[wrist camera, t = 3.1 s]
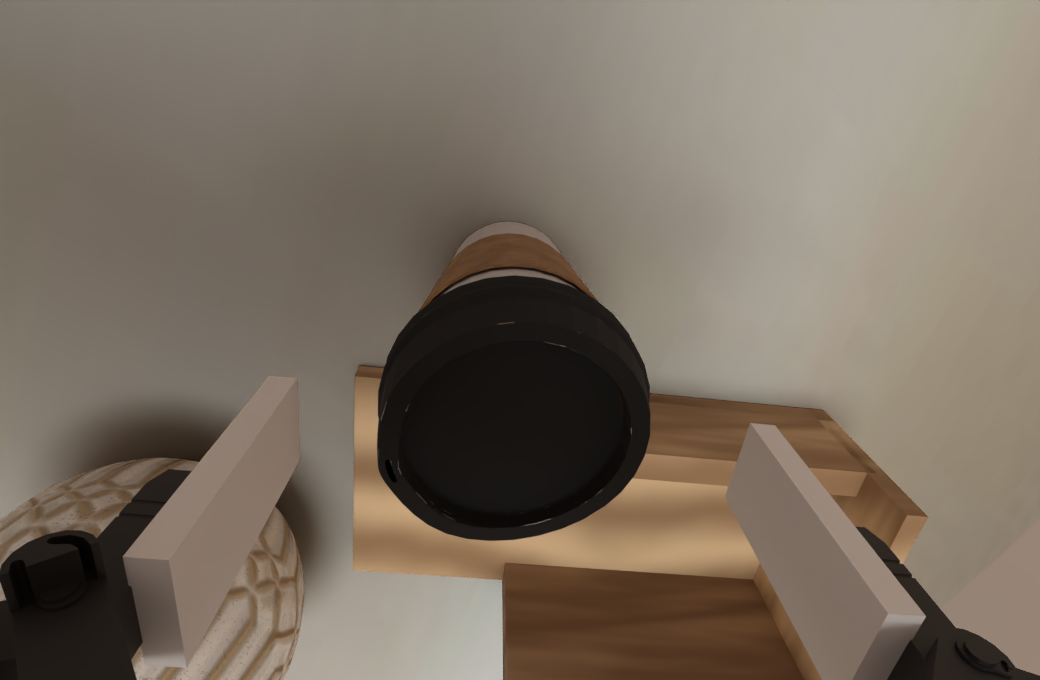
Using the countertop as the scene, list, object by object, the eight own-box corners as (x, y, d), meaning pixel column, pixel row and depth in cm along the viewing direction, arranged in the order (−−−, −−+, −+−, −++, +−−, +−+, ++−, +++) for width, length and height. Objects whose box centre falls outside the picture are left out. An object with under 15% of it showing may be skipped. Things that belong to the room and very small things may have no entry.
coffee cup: (406, 213, 28) (319, 343, 14) (576, 179, 28) (653, 279, 14) (447, 363, 31) (409, 581, 18) (598, 334, 31) (677, 535, 17)
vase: (368, 469, 34) (223, 909, 16) (291, 636, 40) (119, 1099, 22) (88, 370, 31) (-495, 787, 13) (48, 568, 37) (-393, 1050, 18)
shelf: (359, 365, 31) (303, 483, 22) (823, 410, 34) (943, 533, 24) (357, 555, 37) (311, 710, 28) (753, 582, 39) (829, 733, 30)
